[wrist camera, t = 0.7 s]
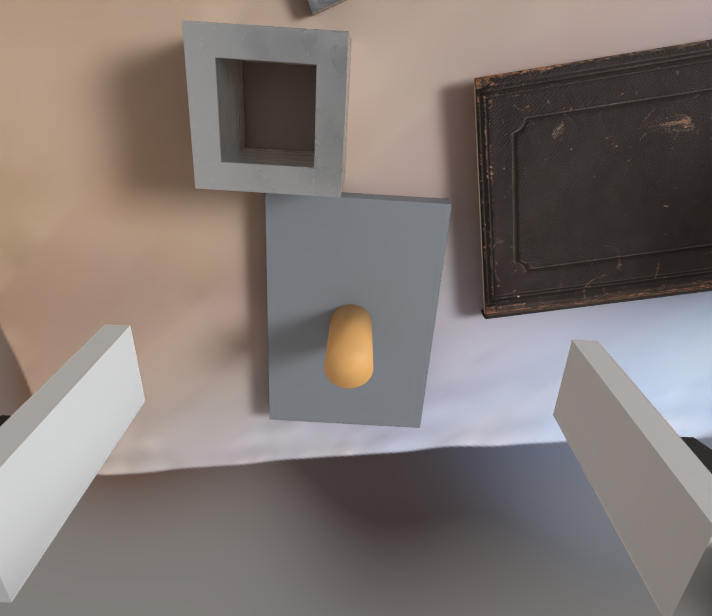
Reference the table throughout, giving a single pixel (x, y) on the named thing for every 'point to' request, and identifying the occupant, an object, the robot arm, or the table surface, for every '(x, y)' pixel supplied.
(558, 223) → the hardcover book
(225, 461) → the table surface
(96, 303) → the table surface
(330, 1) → the chain tail
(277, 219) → the keeper
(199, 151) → the square tube segment
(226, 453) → the table surface
